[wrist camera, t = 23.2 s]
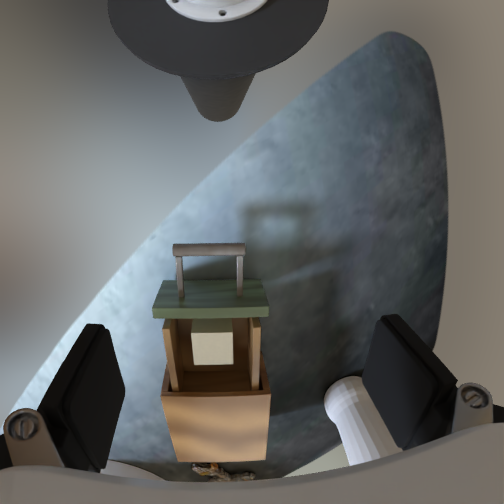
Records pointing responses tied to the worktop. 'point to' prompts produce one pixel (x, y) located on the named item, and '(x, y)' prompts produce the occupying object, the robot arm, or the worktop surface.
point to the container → (128, 471)
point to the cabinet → (218, 422)
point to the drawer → (212, 306)
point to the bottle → (358, 421)
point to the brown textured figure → (220, 473)
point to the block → (212, 341)
